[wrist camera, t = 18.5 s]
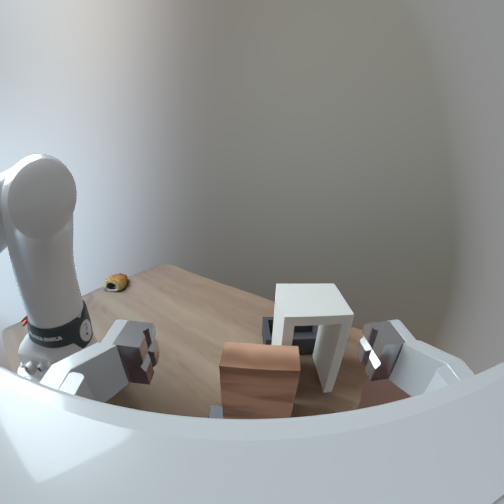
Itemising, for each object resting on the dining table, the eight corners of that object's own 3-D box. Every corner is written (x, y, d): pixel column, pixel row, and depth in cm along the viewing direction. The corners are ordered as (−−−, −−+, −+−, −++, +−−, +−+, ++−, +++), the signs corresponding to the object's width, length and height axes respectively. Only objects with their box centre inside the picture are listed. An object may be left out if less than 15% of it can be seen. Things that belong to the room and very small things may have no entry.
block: (227, 396, 40) (225, 341, 36) (288, 399, 40) (298, 345, 35) (223, 418, 35) (219, 365, 31) (289, 423, 35) (300, 370, 31)
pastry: (114, 278, 80) (113, 268, 79) (132, 280, 81) (131, 268, 79) (102, 291, 72) (100, 280, 70) (121, 293, 72) (119, 281, 71)
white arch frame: (274, 396, 41) (284, 317, 35) (270, 358, 50) (276, 283, 45) (331, 392, 41) (354, 314, 36) (319, 356, 51) (333, 283, 45)
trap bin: (264, 355, 51) (265, 339, 50) (262, 332, 59) (263, 317, 57) (323, 353, 52) (326, 337, 50) (314, 330, 59) (317, 316, 58)
